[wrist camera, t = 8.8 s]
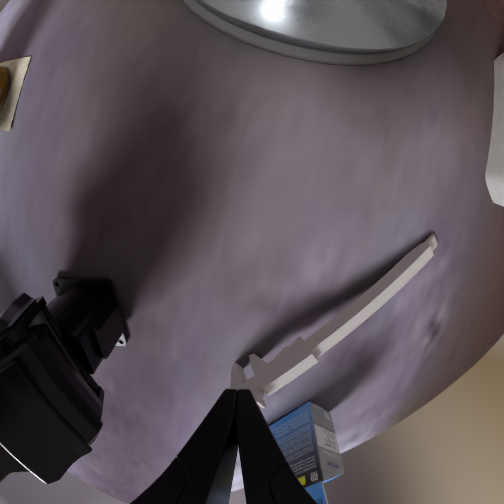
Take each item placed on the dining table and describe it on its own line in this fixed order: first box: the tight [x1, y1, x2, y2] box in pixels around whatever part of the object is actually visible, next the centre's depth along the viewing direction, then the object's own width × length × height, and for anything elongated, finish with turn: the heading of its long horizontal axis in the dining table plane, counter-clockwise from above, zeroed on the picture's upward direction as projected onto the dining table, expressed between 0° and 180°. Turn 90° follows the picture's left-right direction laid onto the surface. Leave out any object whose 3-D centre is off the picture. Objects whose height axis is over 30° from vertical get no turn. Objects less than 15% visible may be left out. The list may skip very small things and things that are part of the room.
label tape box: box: [269, 401, 344, 504], centre depth 21 cm, size 9×4×12 cm, turn 137°
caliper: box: [230, 234, 438, 408], centre depth 19 cm, size 20×1×6 cm, turn 126°
